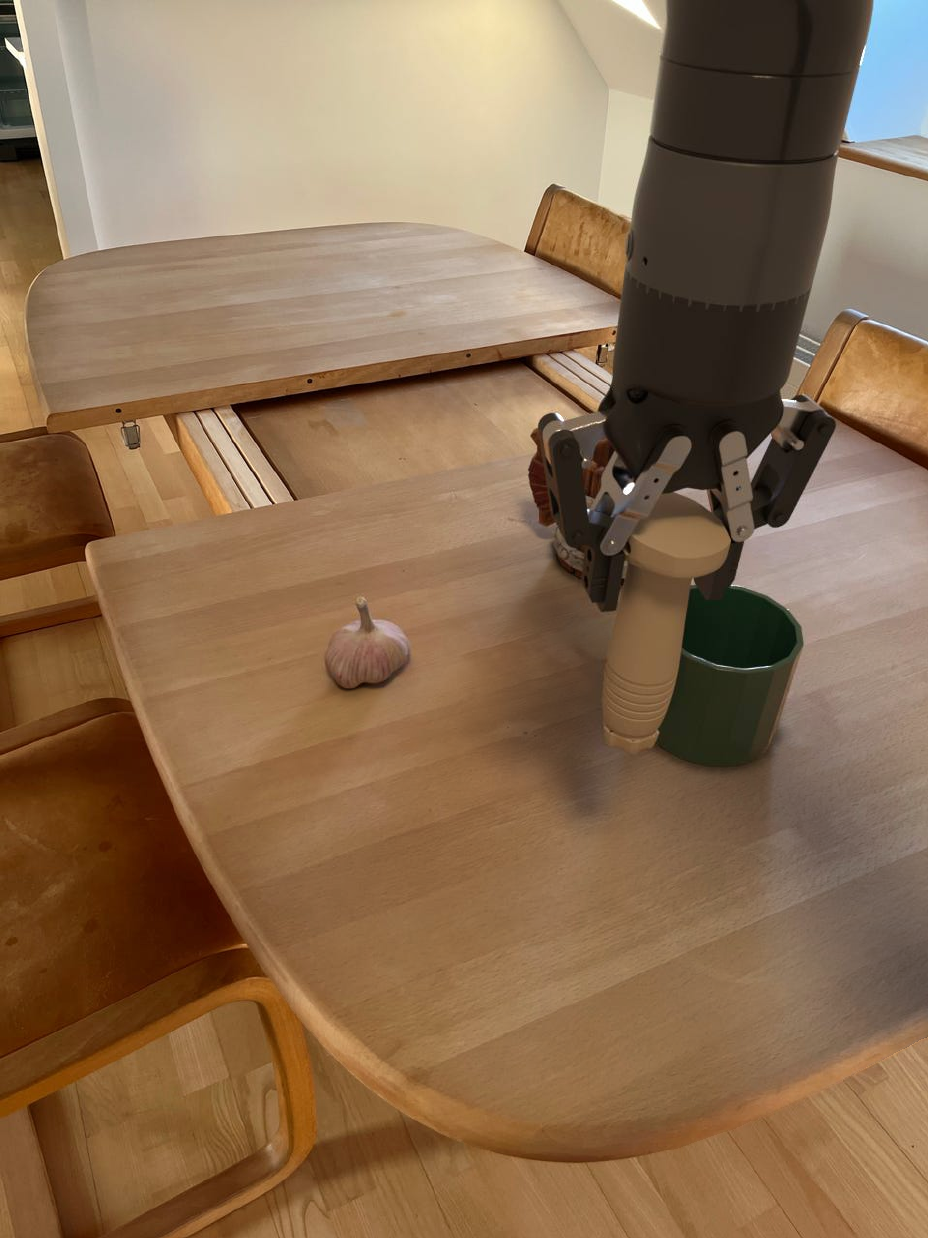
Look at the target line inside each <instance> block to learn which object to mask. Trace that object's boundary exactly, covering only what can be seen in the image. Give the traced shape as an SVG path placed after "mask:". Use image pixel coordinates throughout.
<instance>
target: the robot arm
mask: <svg viewBox="0 0 928 1238" xmlns="http://www.w3.org/2000/svg"><path fill="white" fill-rule="evenodd" d="M873 11H874V0H664V25H663V32H662V38H661V39H662V40H661V43H660V45H661V46H660V55H659V59H658V67H657V73H656V80H655V81H656V82H655V89H654V95H653V96H654V97H653V102H652V103H653V104H652V110H651V119H650V125H649V136H648V140H647V143H646V151H645V155H644V159H643V164H642V167H641V171H640V174H639V178H638V180H637V182H638V183H637V185H636V190H635V193H634V199H633V205H632V211H631V219H630V226H629V228H628V233H627V234H626V238H625V243H624V244H625V246H624V254H625V266H624V271H623V280H622V288H621V294H620V295H621V296H620V303H619V309H618V319H617V327H616V335H615V341H614V348H613V349H614V350H613V357H612V378H611V383H610V385H609V388H608V390H607V391H606V394H605V395H604V397H603V398H602V399H601V401H600V403H599V405H598V408H597V411H594V412H591V413H587V414H584V415H580V416H576V417H574V418H569V419H566V420H564V419H563V417H562V416H561V415H560V414H559V413H557V412H548V413H546V414H544V415H543V416H542V417H541V418H540V419H539V421H538V423H537V428H538V432H539V438H540V445H541V451H542V458H543V464H544V471H545V477H546V483H547V490H548V496H549V503H550V509H551V515H552V517H553V519H554V521H555V523H554V524H556V527H557V526H558V528H559V530H560V532H561V534H562V536H563V538H564V539H565V541H566V543H567V545H568V546H570V547H572V548H579V547H582V546H584V545H585V553H584V560H583V568H582V570H583V571H582V576H581V578H580V580H581V583H582V587H583V588H584V590H585V592H586V594H587V596H588V598H589V600H590V602H591V603H592V604H596V606H597V608H598V610H599V611H600V612H601V613H610V612H616V611H617V610H618V605H619V599H620V598H619V597H620V591H621V585H622V583H621V579H622V573H623V567H624V561H625V555H626V554H625V553H624V551H623V550H622V549H623V547H624V546H625V544H626V542H627V540H628V539H629V537H630V535H631V533H632V532H633V530H634V528H635V526H636V525H637V523H638V521H639V520H640V519H646V518H647V517H648V516H649V515H650V513H651V511H652V509H653V508H654V506H655V504H656V503H657V501H658V499H659V497H660V496H661V494H666V493H672V492H674V493H676V492H678V491H681V490H684V489H692V490H698V491H705V490H706V493H707V498H708V504H709V508H710V512H712V513H713V514H714V515H715V516H716V517H718V518H719V519H720V520H721V522H722V523H723V525H724V526H725V528H726V530H727V533H728V535H729V537H730V540H731V543H730V547H729V551H728V555H727V558H726V560H725V562H724V563H723V565H722V566H721V567H720V568H719V569H717V570H716V571H714V572H712V573H709V574H707V575H704V576H700V577H696V578H693V582H694V585H696V586H697V588H698V589H699V590H700V592H701V593H702V595H703V596H704V598H705V599H706V600H715V599H721V598H722V597H723V593H724V589H725V588H729V587H730V586H731V585H733V583H734V582H735V580H736V576H737V572H738V571H737V570H738V569H739V568H738V567H739V563H740V560H741V557H742V552H743V548H744V544H745V541H747V540H748V539H750V538H751V537H752V535H753V534H754V532H755V530H757V529H759V528H762V527H764V526H767V525H768V526H769V528H772V529H773V528H774V529H777V528H778V529H779V528H781V527H783V526H784V525H786V524H787V523H788V522H789V520H790V519H791V518H792V517H791V516H792V515H793V513H794V511H795V509H796V507H797V505H798V503H799V502H800V499H801V497H802V495H803V494H804V491H805V489H806V487H807V486H808V483H809V481H810V479H812V475H813V474H814V471H815V470H816V468H817V466H818V463H820V460H821V458H822V456H823V454H824V453H825V450H826V448H827V447H828V444H829V442H830V440H831V438H832V436H833V435H834V433H835V431H836V427H837V423H836V422H837V421H836V420H835V419H834V418H833V417H832V416H831V415H829V413H828V412H827V411H826V410H825V409H824V408H823V407H822V406H820V405H819V404H818V402H816V401H814V400H813V399H811V397H809V396H808V395H806V394H802V393H801V394H798V395H795V396H794V397H792V398H791V399H783V398H782V393H781V389H783V387H784V386H785V385H786V384H787V382H788V380H789V377H790V374H791V371H792V366H793V362H794V358H795V354H796V350H797V346H798V343H799V339H800V335H801V331H802V328H803V327H802V326H803V323H804V319H805V315H806V311H807V307H808V303H809V299H810V296H811V293H812V292H811V291H812V287H813V284H814V280H815V276H816V273H817V272H816V271H817V268H818V264H819V261H820V257H821V253H822V249H823V245H824V241H825V237H826V234H827V229H828V224H829V220H830V215H831V209H832V201H833V193H834V182H835V175H836V169H837V163H838V158H839V154H840V153H839V150H840V148H841V144H842V140H843V135H844V132H845V128H846V125H847V120H848V116H849V112H850V108H851V104H852V100H853V96H854V93H855V89H856V84H857V80H858V77H859V73H860V68H861V65H862V62H863V58H864V54H865V50H866V48H867V47H866V46H867V41H868V37H869V33H870V30H871V29H870V28H871V23H872V17H873ZM769 436H770V437H771V439H770V441H769V443H768V445H767V447H766V450H765V452H764V454H763V456H762V458H761V460H760V463H759V464H758V466H757V469H756V471H755V473H754V475H753V476H752V479H750V478H751V477H750V471H749V465H748V460H747V459H748V458H749V457H750V456H751V455H752V454H753V453H754V452H755V451H756V450H757V449H758V448H759V447H760V445H761V444H762V443H764V441H765V440H766V439H767V438H768V437H769ZM606 438H607V440H608V441H609V443H610V444H611V446H612V447H613V449H614V450H615V451H614V453H613V455H612V457H611V459H610V461H609V463H608V464H607V466H606V468H605V470H604V472H603V474H602V478H601V489H600V491H599V493H598V494H597V496H596V498H595V500H594V502H593V504H592V506H591V507H590V509H587V503H586V495H585V487H584V479H583V471H582V468H583V469H587V468H589V467H590V466H591V461H592V459H593V457H594V449H595V447H596V445H597V444H598V443H599V442H600V441H601V440H603V439H606ZM633 478H634V479H635V481H636V483H635V484H634V482H633Z"/></svg>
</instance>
